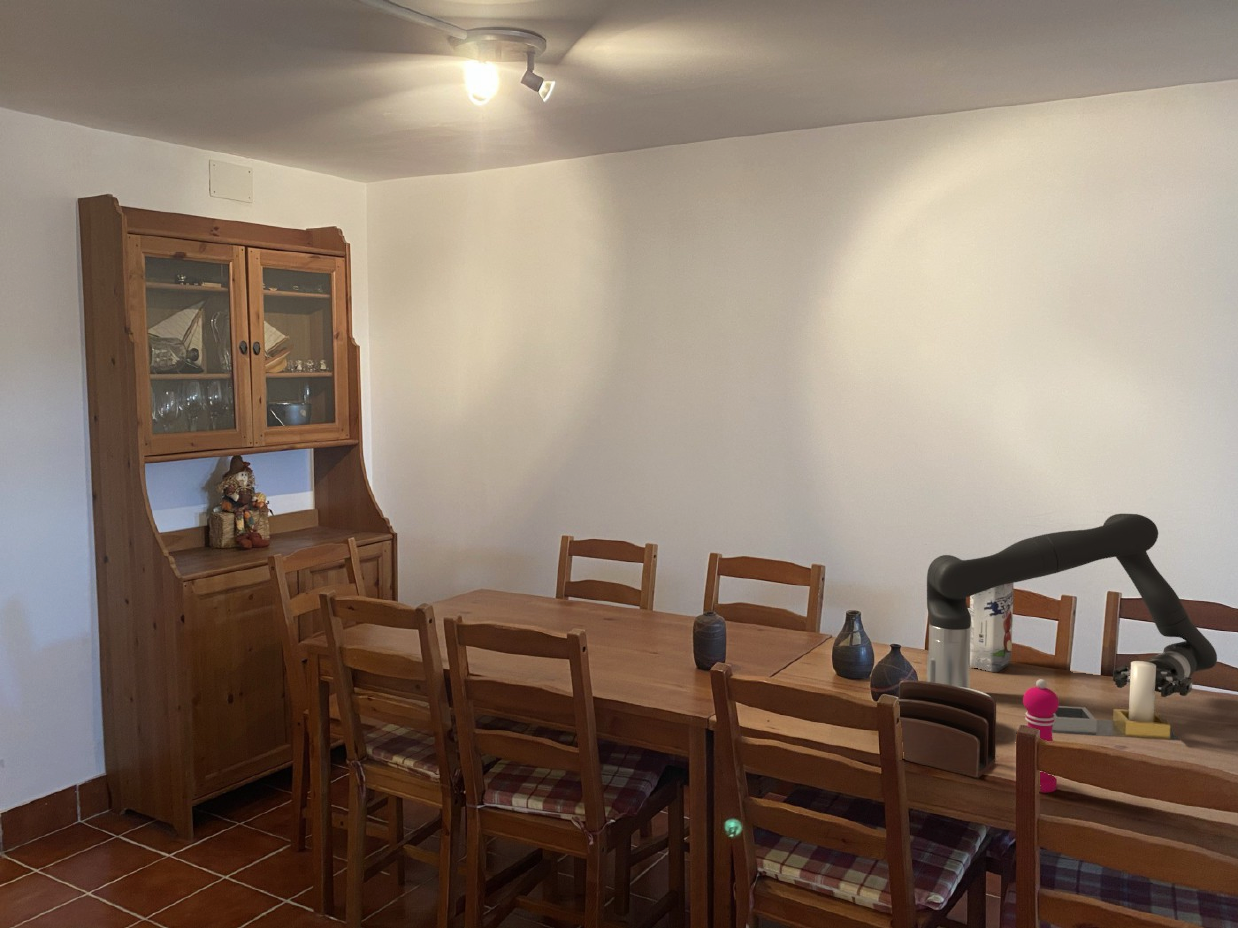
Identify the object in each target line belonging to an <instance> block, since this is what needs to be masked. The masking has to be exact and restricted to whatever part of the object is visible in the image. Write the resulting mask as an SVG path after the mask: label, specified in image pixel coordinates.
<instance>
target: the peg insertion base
mask: <svg viewBox="0 0 1238 928" xmlns="http://www.w3.org/2000/svg"><path fill="white" fill-rule="evenodd" d="M1112 710H1113V711H1112V712H1113V713H1112V720H1111V719H1110V720H1108V719H1096V717H1094V716H1093V714H1092V713H1091V712H1090V711H1089V710H1088V709H1087V708H1086V707H1084V706H1083V707H1082V706H1067V705H1065V706H1064V705H1059V707H1058V709H1057V711H1056V712H1055V713H1054V715H1055V724H1053V725H1052V734H1054V733H1055V734H1066V735H1067V734H1068V735H1069V734H1070V735H1083V736H1084V735H1085V736H1098V737H1099V736H1100V737H1101V736H1102V737H1117V738H1118V737H1119V738H1133V739H1134V738H1135V739H1148V740H1149V739H1150V740H1151V739H1152V740H1166V741H1168V740H1169V741H1181V739H1180V738H1179V737H1178V736H1177V735H1176V734H1175V733H1174V731H1172V730H1171V724H1170V723H1169V722H1168V721H1167V720H1166V719H1165V718H1163V716H1162V715H1160V714H1159V713H1158V712H1157V711H1156V710H1154V720H1153V722H1138V721H1129V709H1122V708H1121V709H1119V708H1113V709H1112Z"/></svg>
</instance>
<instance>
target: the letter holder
mask: <svg viewBox="0 0 1238 928" xmlns="http://www.w3.org/2000/svg"><path fill="white" fill-rule="evenodd" d="M987 695H988V694H987ZM987 695H984V694H981V693H978V692H975V691H972V690H968V689H964V688H960V687H956V686H951V685H946V684H940V683H934V682H927V680H924V681H923V680H913V679H902V680H900V681H899V683H898V698H897V699H898V700H899V705H900V720H901V728H902V742H903V752H904V759H905V760H904V761H906V762H910V763H914V764H919V765H923V766H927V767H930V768H935V769H937V770H942V771H946V772H950V773H954V774H959V775H963V776H965V777H970V778H974V779H978V780H979V779H980V777H982V776H983V775H984V774H985V773H986V772H987V771H988V770H989V769H990V768H992V767H991V766H994V764H995V763H996V760H997V759H996V755H997V754H996V750H997V748H996V746H997V745H996V743H997V742H996V741H997V702H996V700H995V699H994V698H993V697H992V696H990V695H989V696H987Z"/></svg>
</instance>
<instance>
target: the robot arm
mask: <svg viewBox="0 0 1238 928" xmlns="http://www.w3.org/2000/svg"><path fill="white" fill-rule="evenodd" d="M1158 538H1159V529H1158V527H1157V525H1156V523H1155V522H1154V521H1153V520H1152V519H1150V518H1149V517H1147V516H1145V515H1141V514H1139V513H1116V514H1113V515H1110V516H1109V517H1108V518H1107V519H1106V520H1105V521H1104V523H1103V525H1100V526H1098V527H1094V528H1088V529H1079V530H1078V529H1077V530H1066V531H1065V530H1064V531H1058V532H1051V533H1046V534H1041V535H1036V536H1032V537H1028V538H1025V539H1022V540H1019V541H1017V542H1014V543H1013V544H1011V545H1009V546H1007V547H1006V548H1004V549H1002V550H1001V551H999V552H996V553H994V554H991V555H988V556H982V557H978V558H970V559H961V558H959V557H956V556H954V555H951V554H943V555H940V556H937V557H936V558H935V559H934V560H933V561H932V562H931V563H930V564H929V566H928V569H927V574H926V609H927V612H928V616H929V617H928V620H929V622H928V624H929V625H928V652H927V653H926V682H934V683H940V684H946V685H951V686H956V687H963V688H969V689H970V671H971V667H970V637H971V615H970V609H968V603H967V598H968V597H969V598H970V596H972V595H974V594H977V593H980V592H982V591H985V590H988V589H991V588H994V587H997V586H1000V585H1004V584H1009V583H1013V584H1014V583H1019V582H1024V581H1029V580H1032V579H1037V578H1041V577H1046V576H1050V575H1053V574H1058V573H1061V572H1064V571H1068V570H1072V569H1075V568H1077V567H1081V566H1084V565H1088V564H1090V563H1093V562H1096V561H1099V560H1104V559H1110V558H1116V559H1117V561H1118V562H1119V564H1121V566H1122V568H1123V569H1124V570H1125V572H1126V573H1127V575H1128V577H1129V578H1130V580H1131V582H1132V583H1133V585H1134V586H1135V588H1136V589H1137V591H1138V593H1139V595H1140V597H1141V598H1142V601H1143V602H1144V604H1145V606H1146V608H1147V609H1146V610H1147V611H1148V612H1149V614H1150V617H1151V619H1152V620H1153V622H1154V625H1155V627H1156V629H1157V631H1158V632H1159V633H1160V635H1162V636H1163V637H1167V638H1180V639H1183V640H1184V641H1179V642H1175V643H1170V644H1169V645H1166V646H1165V647H1164V648H1163V652H1161V653H1158V654H1157V655H1154V656H1153V657H1151V658H1149V659H1147V661H1145V662H1149V663H1153V664H1155V665H1156V677H1155V693H1156V692H1157V693H1160V697H1161V698H1167V697H1169V696H1171V695H1173V696H1174V695H1176V694H1177V693H1178V694H1179V696H1182V697H1186V696H1187V695H1188V694H1189V693H1190V692H1192V690H1193V677H1191V676H1193V674H1194V673H1195V672H1200V671H1206V670H1209V669H1212V668H1214V667H1215V666H1216V665H1217V662H1218V655H1217V652H1216V649H1215V648H1214V646H1213V644H1212V643H1211V642H1210V641H1209V640H1208V639H1207V637H1206V636H1205V635H1204V634H1202V632H1201V631H1200V630H1199V629H1198V628H1197V627H1196V626H1195V624H1194V623H1193V622H1192V620H1191V619H1190V617H1189V614H1188V613H1187V611H1186V610H1185V607H1184V605H1183V603H1182V601H1181V599H1180V598H1179V596H1178V594H1177V593H1176V591H1175V590H1174V588H1172V586H1171V585H1170V584H1169V583H1168V581H1167V580H1166V579H1165V578H1164V577H1163V576H1162V574H1161V573H1160V571H1159V570H1158V569H1157V568H1156V566H1155V565H1154V563H1153V562H1152V560H1151V558H1150V557H1149V554H1148V552H1147V551H1149V550H1150V549H1152V548H1153V547H1154V546H1155V544H1156V542H1157V541H1158ZM1112 673H1113V674H1112V676H1113V677H1112V681H1113V682H1115V683H1114V685H1115V686H1116V687H1117V688H1119V689H1122V688H1123V687H1125V686H1127V685H1130V675H1131V669H1130V666H1129V665H1127V664H1124V665H1121V666H1119V667H1117V668H1114V669H1113V672H1112Z"/></svg>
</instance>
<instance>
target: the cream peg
mask: <svg viewBox="0 0 1238 928" xmlns="http://www.w3.org/2000/svg"><path fill="white" fill-rule="evenodd" d="M1130 670H1131V675H1130V676H1129V680H1130V684H1129V698H1128V699H1129V700H1128V701H1129V702H1128V704H1129V705H1128V710H1129V721H1138V722H1153V720H1154V711H1155V698H1156V697H1155V694H1156V691H1155V677H1156V665H1155V664H1153V663H1149V662H1146V661H1142V660H1134V661H1130Z"/></svg>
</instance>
